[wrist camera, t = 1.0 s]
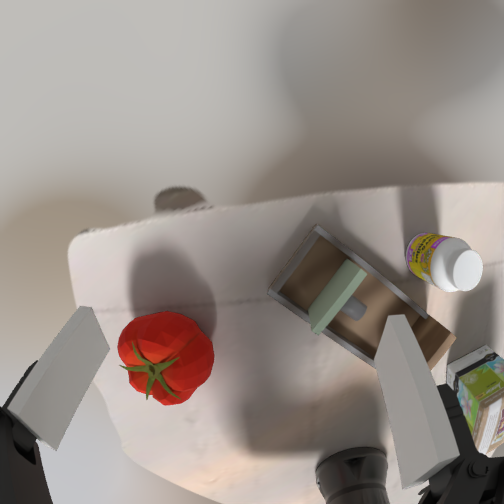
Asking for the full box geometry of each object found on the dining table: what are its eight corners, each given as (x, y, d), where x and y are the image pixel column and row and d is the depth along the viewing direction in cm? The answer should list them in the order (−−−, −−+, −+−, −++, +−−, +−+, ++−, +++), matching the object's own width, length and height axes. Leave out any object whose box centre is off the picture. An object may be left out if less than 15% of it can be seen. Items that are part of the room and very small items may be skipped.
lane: (426, 313, 38) (456, 337, 28) (382, 367, 40) (401, 401, 30) (315, 224, 38) (324, 227, 29) (268, 288, 40) (262, 310, 31)
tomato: (130, 311, 44) (89, 336, 32) (206, 293, 42) (177, 320, 30) (158, 379, 45) (128, 416, 34) (233, 370, 43) (216, 414, 31)
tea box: (444, 364, 38) (484, 409, 24) (485, 343, 37) (530, 377, 22) (441, 420, 40) (468, 466, 25) (479, 400, 38) (511, 439, 23)
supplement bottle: (421, 223, 36) (469, 227, 24) (447, 252, 36) (496, 265, 24) (395, 257, 38) (436, 275, 25) (422, 285, 37) (466, 310, 25)
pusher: (373, 278, 37) (392, 294, 29) (334, 327, 39) (344, 352, 31) (346, 258, 37) (360, 268, 29) (307, 308, 39) (311, 330, 31)
